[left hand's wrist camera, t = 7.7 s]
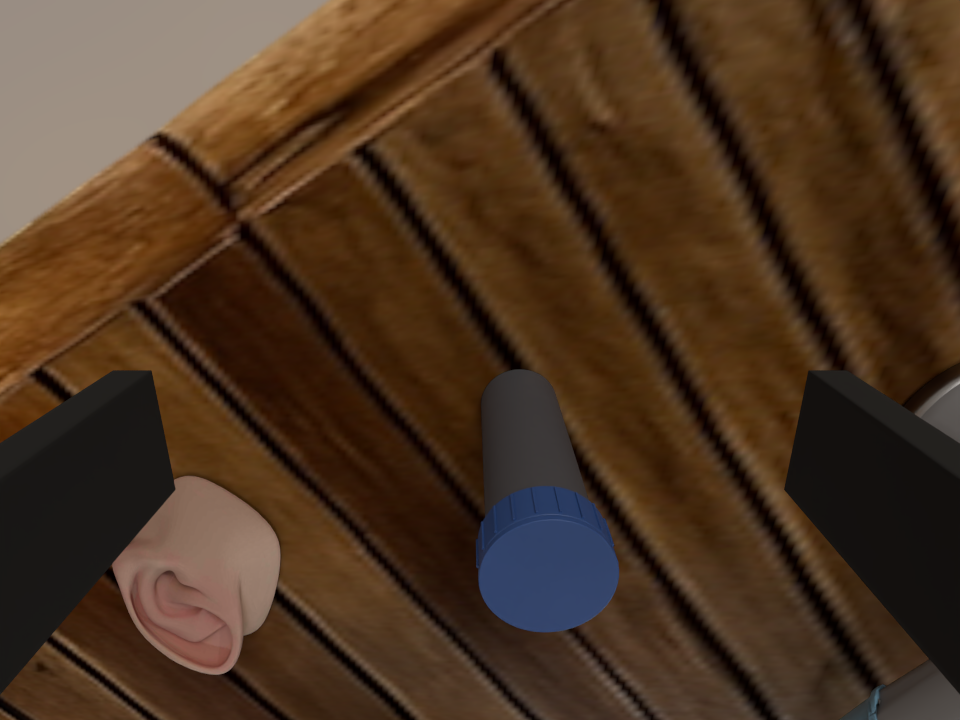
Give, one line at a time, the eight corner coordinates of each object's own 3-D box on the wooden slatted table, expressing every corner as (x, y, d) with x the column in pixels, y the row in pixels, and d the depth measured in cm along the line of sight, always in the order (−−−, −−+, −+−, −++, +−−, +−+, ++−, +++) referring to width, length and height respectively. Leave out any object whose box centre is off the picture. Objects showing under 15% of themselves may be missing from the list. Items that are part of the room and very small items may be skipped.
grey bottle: (491, 444, 41) (504, 628, 26) (472, 379, 39) (473, 536, 24) (563, 427, 41) (617, 603, 26) (546, 360, 39) (594, 508, 24)
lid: (495, 605, 28) (497, 646, 26) (460, 502, 26) (459, 537, 24) (618, 577, 28) (632, 617, 25) (593, 470, 26) (605, 503, 23)
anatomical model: (119, 490, 37) (297, 556, 39) (151, 457, 41) (312, 518, 43) (70, 640, 41) (233, 692, 43) (103, 597, 45) (251, 647, 47)
